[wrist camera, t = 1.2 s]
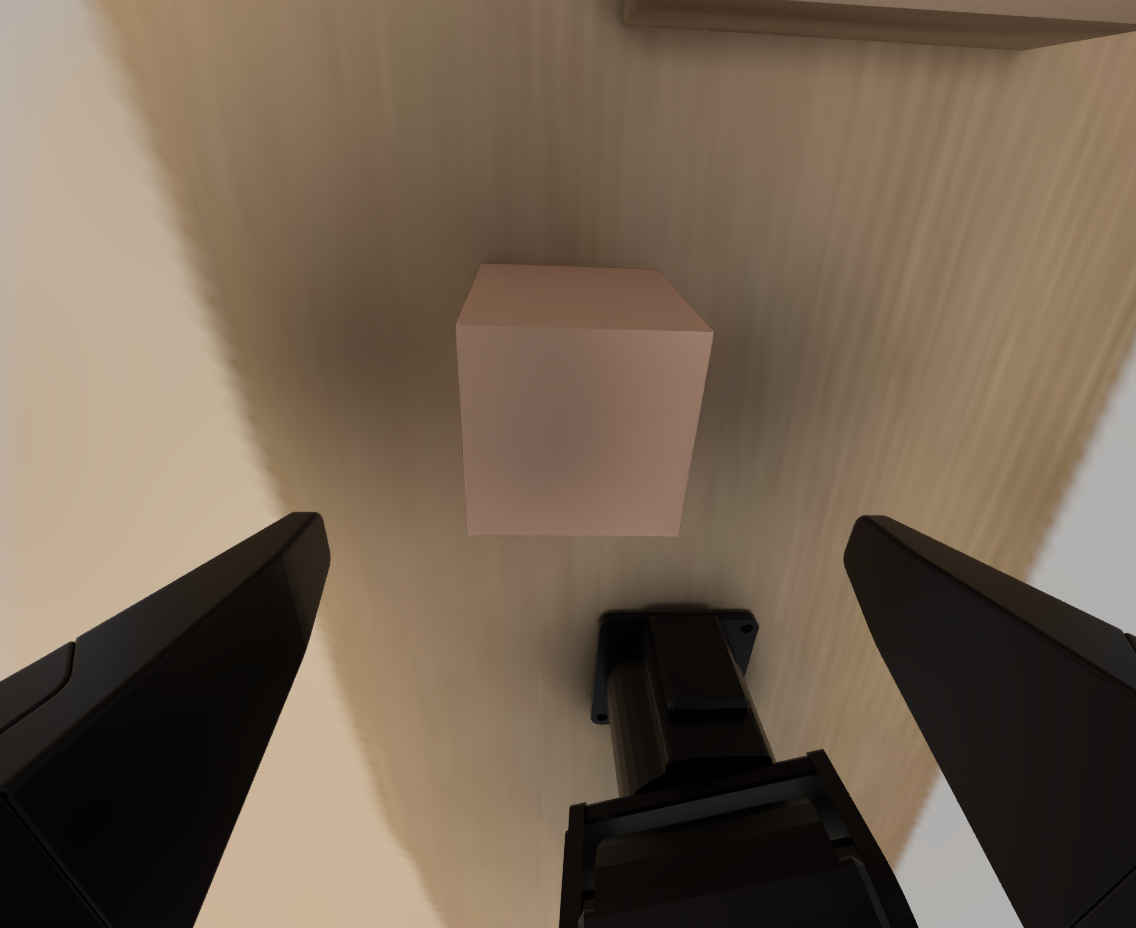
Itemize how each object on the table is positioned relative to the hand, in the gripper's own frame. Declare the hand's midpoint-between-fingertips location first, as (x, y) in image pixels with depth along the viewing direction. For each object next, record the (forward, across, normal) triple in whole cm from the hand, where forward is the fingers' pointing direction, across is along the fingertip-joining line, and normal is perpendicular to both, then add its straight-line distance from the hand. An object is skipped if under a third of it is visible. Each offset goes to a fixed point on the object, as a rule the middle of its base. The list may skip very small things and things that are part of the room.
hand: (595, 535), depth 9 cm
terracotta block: (+9, 0, 0) cm, 9 cm away
